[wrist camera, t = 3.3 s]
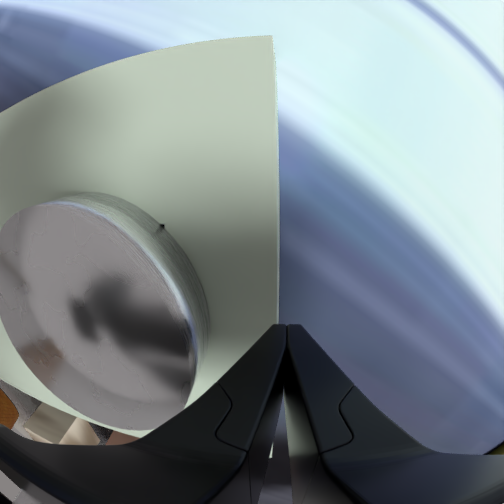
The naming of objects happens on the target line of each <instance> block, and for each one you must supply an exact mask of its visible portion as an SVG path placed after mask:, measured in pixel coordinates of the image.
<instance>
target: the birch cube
mask: <svg viewBox="0 0 504 504" xmlns="http://www.w3.org/2000/svg"><path fill="white" fill-rule="evenodd" d="M23 427H24V428H25V430H26V431H27V432H28V433H29V435H30V436H31V437H32V439H33V440H34V441H38V442H44V443H52V444H68V445H98V443H99V442H100V440H99V438H98V437H97V435H96V434H95V432H94V430H93V429H92V427H91V426H90V424H89V422H88V421H86V420H84V419H81V418H78V417H76V416H73V415H71V414H69V413H66V412H64V411H62V410H59V409H57V408H55V407H53V406H50V405H48V404H46V403H44V402H42V403H41V404H40V406H39V407H38V408H37V409H36V411H35V412H34V413H33V414H32V415H31V417H30V418H29V419H28V420H27V422H26V423H25V424H24V425H23Z"/></svg>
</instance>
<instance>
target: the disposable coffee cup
mask: <svg viewBox="0 0 504 504" xmlns="http://www.w3.org/2000/svg"><path fill="white" fill-rule="evenodd" d="M18 417H19V414H18V411H17V410H16V408H15V406H14V405H13V403H12V402H11V401H10V399H9V398H8V397H7V396H6V394H5V393H4V392H3V391H2V390H1V389H0V424H3V425H5V426H6V427H8V428H9V429H12V427H13V426H14V424H15V422H16V420H17V419H18Z"/></svg>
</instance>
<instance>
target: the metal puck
mask: <svg viewBox="0 0 504 504" xmlns="http://www.w3.org/2000/svg"><path fill="white" fill-rule="evenodd" d="M0 318H1V321H2V323H3V326H4V328H5V330H6V332H7V334H8V336H9V338H10V340H11V342H12V344H13V346H14V347H15V349H16V351H17V352H18V354H19V356H20V357H21V358H22V360H23V361H24V363H25V364H26V365H27V367H28V368H29V369H30V370H31V372H32V373H33V374H34V375H35V376H36V377H37V378H38V380H39V381H40V382H41V383H42V384H43V385H44V386H45V387H46V388H47V389H48V390H50V391H51V392H52V393H53V394H54V395H55V396H56V397H58V398H59V399H60V400H61V401H63V402H64V403H65V404H67V405H68V406H70V407H71V408H73V409H74V410H76V411H78V412H79V413H81V414H83V415H85V416H87V417H89V418H91V419H93V420H95V421H97V422H100V423H102V424H105V425H108V426H112V427H115V428H120V429H125V430H136V431H142V430H151V429H156V428H157V427H159V426H160V425H162V424H163V423H165V422H166V421H168V420H169V419H171V418H172V417H174V416H175V415H177V414H178V413H180V412H181V411H182V410H183V409H184V407H185V405H186V403H187V401H188V399H189V396H190V394H191V391H192V389H193V386H194V384H195V381H196V379H197V376H198V374H199V371H200V369H201V366H202V364H203V361H204V359H205V356H206V353H207V350H208V346H209V342H210V333H211V324H210V313H209V307H208V302H207V298H206V295H205V292H204V289H203V286H202V283H201V281H200V279H199V277H198V275H197V272H196V270H195V268H194V267H193V265H192V263H191V262H190V260H189V258H188V256H187V255H186V253H185V252H184V251H183V249H182V248H181V247H180V245H179V244H178V242H177V241H176V240H175V239H174V238H173V236H172V235H171V234H170V233H169V232H168V231H167V230H166V229H165V228H164V227H163V226H162V225H161V224H160V223H159V222H158V221H156V220H155V219H154V218H153V217H152V216H151V215H149V214H148V213H146V212H145V211H143V210H142V209H140V208H139V207H137V206H136V205H134V204H132V203H130V202H128V201H126V200H124V199H122V198H119V197H116V196H113V195H110V194H105V193H98V192H82V193H77V194H73V195H69V196H65V197H62V198H58V199H55V200H51V201H48V202H44V203H41V204H37V205H34V206H31V207H28V208H24V209H22V210H20V211H19V212H17V213H15V214H14V215H13V216H11V217H10V218H9V219H8V220H7V221H6V223H5V224H4V226H3V227H2V228H1V230H0Z"/></svg>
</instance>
